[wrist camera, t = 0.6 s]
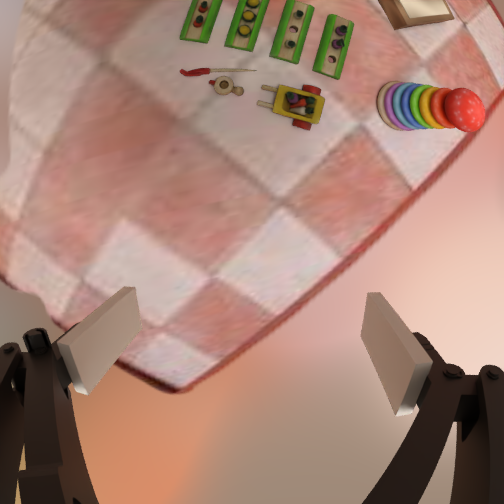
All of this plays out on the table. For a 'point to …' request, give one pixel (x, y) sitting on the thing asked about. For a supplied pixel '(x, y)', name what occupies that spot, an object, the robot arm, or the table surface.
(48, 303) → the table surface
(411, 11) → the pedestal
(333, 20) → the toy garden set
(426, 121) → the stacking toy
